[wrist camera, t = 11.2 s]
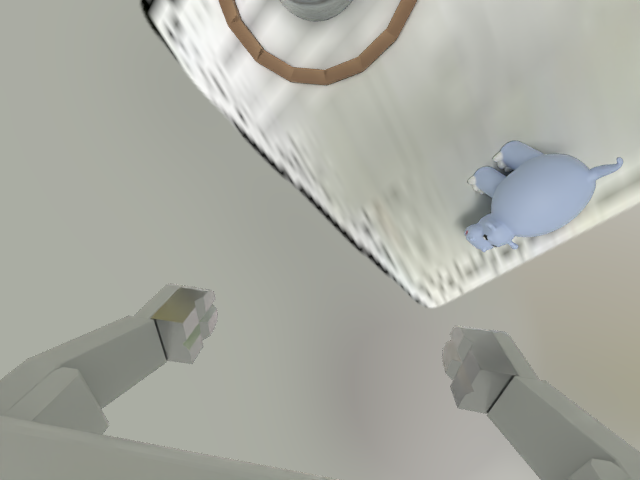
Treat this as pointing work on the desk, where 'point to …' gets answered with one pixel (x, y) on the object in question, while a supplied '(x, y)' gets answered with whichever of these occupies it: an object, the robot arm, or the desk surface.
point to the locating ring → (317, 75)
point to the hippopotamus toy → (531, 194)
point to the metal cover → (316, 8)
